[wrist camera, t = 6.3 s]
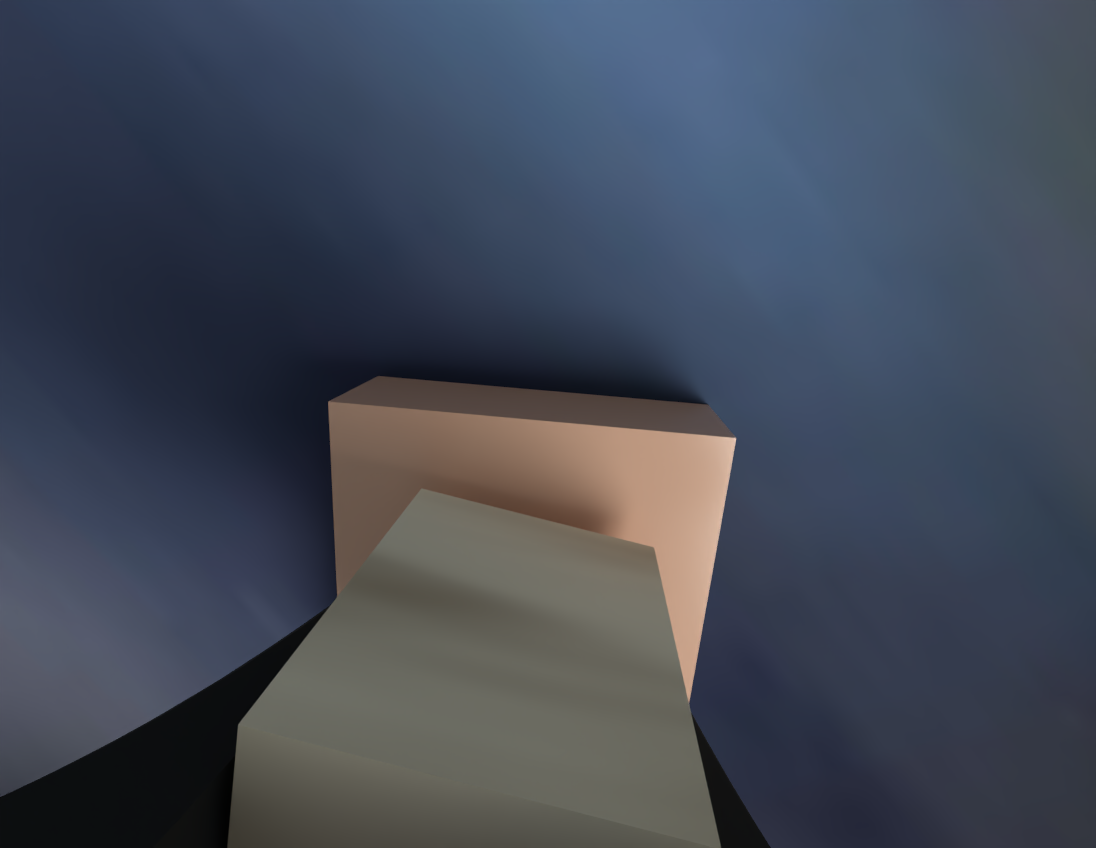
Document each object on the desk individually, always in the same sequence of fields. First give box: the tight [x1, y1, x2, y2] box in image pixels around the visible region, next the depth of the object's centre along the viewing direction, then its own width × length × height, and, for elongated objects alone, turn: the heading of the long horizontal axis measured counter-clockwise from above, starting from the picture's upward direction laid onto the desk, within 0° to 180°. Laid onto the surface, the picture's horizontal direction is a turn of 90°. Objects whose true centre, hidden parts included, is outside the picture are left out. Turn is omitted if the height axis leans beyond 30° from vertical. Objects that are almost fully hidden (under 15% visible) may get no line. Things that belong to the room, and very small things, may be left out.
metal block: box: [227, 488, 721, 848], centre depth 8 cm, size 4×4×6 cm
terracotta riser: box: [328, 376, 736, 702], centre depth 13 cm, size 8×8×3 cm
